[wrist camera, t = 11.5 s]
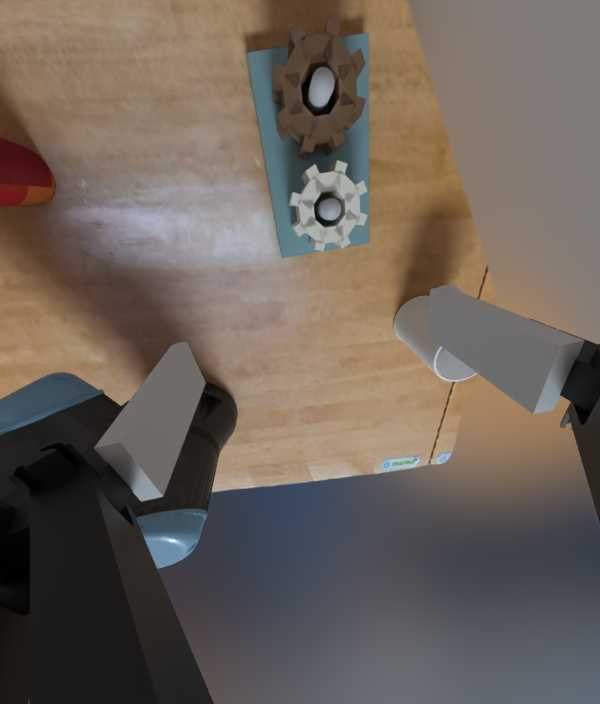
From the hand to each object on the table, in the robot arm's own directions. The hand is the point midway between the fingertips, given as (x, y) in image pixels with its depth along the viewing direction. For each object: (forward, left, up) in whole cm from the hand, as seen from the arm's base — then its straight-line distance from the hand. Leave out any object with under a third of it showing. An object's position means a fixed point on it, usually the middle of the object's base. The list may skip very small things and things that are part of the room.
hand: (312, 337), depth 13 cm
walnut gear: (+5, +15, -23) cm, 28 cm away
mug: (+20, -11, -25) cm, 34 cm away
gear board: (+5, +10, -25) cm, 27 cm away
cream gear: (+5, +6, -23) cm, 25 cm away
